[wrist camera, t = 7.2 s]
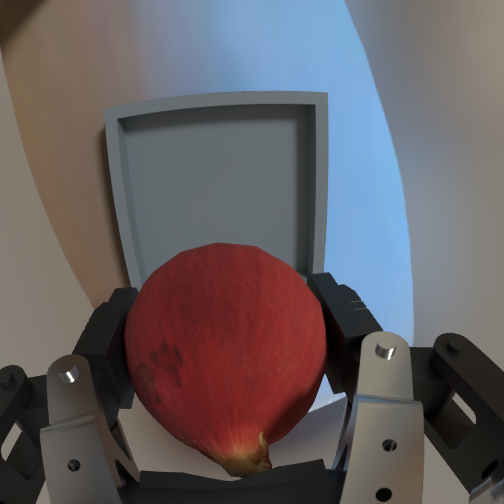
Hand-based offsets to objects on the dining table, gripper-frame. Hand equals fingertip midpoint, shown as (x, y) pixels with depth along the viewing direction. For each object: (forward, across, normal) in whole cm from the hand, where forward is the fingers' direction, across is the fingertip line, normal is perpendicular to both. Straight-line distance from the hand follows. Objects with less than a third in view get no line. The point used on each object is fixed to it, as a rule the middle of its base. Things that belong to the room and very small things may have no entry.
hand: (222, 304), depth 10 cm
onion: (+2, 0, 0) cm, 2 cm away
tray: (+17, 0, 0) cm, 17 cm away
